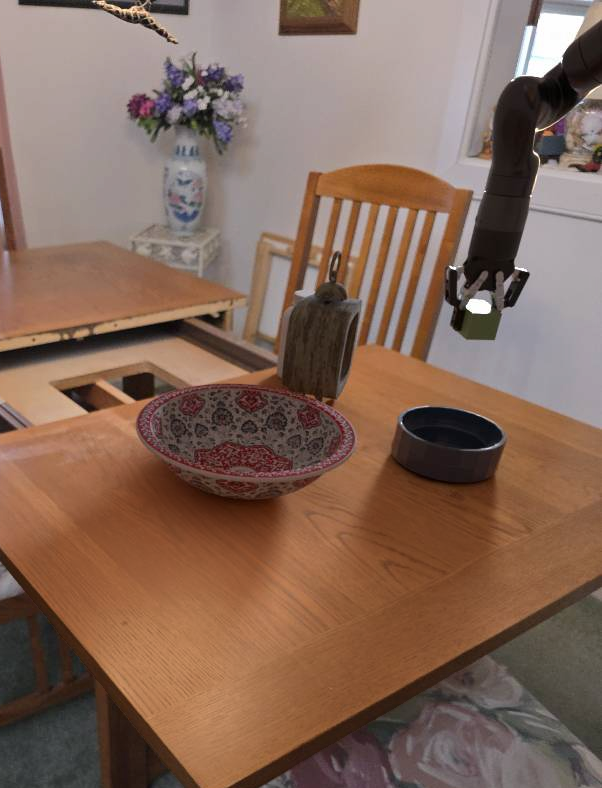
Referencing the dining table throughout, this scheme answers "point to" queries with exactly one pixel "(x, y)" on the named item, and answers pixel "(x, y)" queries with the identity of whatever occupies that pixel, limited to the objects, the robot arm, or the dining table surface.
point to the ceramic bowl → (245, 438)
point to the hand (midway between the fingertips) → (472, 330)
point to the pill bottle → (296, 298)
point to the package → (480, 321)
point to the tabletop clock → (321, 340)
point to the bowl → (448, 443)
